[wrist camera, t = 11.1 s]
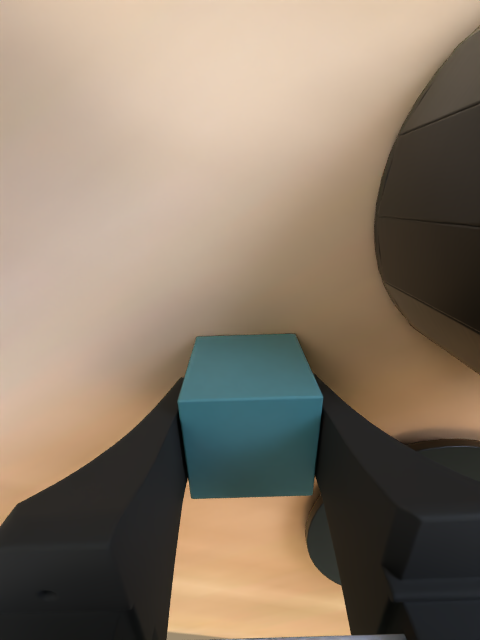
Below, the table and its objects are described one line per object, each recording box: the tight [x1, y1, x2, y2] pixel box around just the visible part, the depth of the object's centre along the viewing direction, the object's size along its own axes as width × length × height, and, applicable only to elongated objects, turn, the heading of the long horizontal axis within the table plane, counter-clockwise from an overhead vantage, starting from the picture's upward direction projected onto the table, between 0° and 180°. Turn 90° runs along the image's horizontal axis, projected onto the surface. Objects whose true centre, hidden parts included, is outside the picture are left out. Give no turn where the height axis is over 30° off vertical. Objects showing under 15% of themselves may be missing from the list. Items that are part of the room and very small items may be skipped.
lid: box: [305, 439, 480, 586], centre depth 15 cm, size 14×14×5 cm
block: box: [177, 334, 323, 499], centre depth 11 cm, size 4×4×4 cm
